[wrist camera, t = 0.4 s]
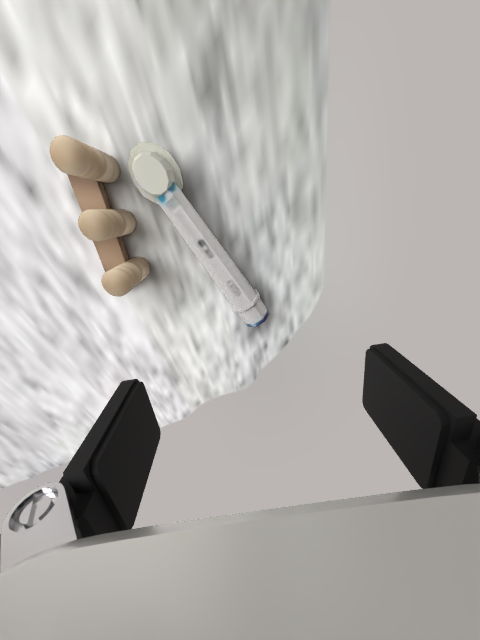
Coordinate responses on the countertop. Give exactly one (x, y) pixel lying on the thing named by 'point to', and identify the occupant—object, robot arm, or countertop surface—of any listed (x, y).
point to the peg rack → (100, 211)
